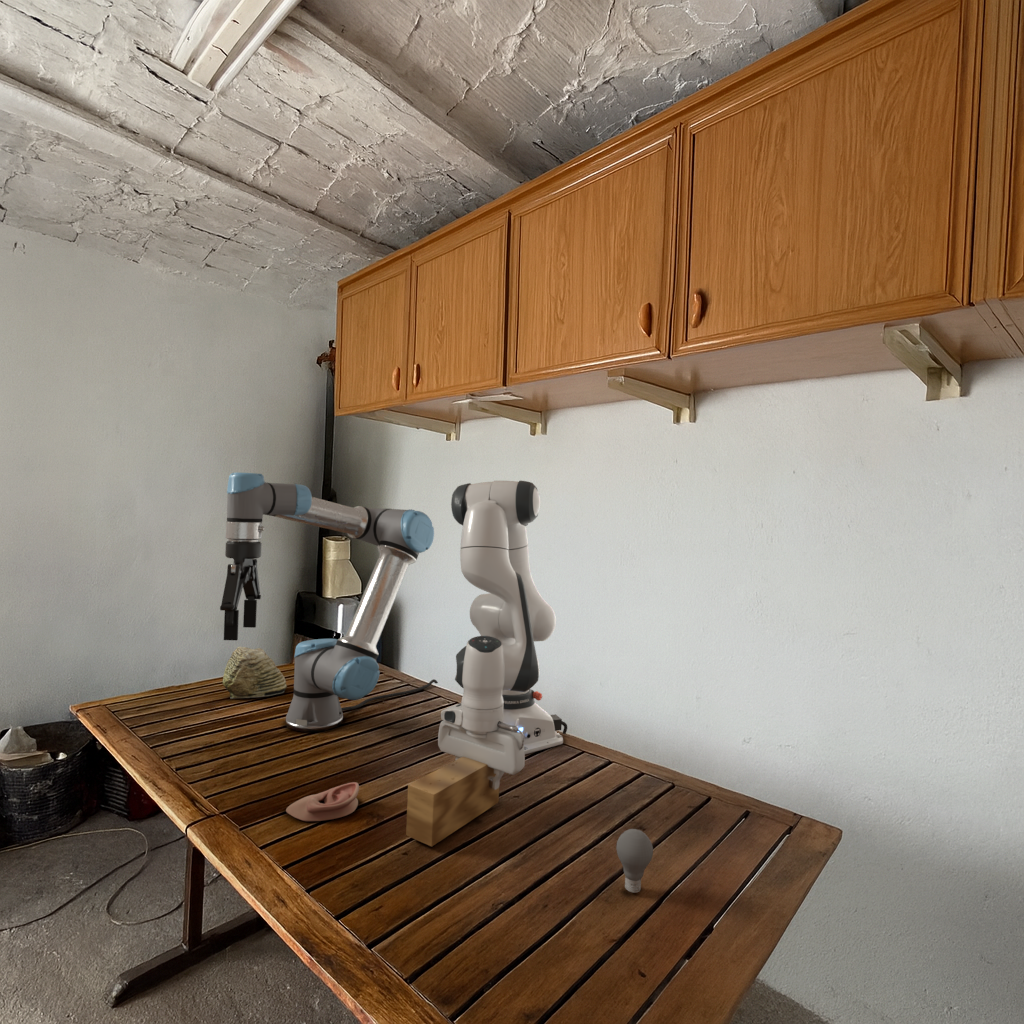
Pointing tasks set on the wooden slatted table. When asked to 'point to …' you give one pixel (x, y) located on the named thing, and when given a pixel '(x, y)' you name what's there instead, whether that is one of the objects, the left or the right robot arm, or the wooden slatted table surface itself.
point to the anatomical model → (326, 804)
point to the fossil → (252, 674)
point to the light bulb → (634, 857)
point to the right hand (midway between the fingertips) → (479, 782)
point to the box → (448, 799)
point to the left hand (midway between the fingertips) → (240, 633)
